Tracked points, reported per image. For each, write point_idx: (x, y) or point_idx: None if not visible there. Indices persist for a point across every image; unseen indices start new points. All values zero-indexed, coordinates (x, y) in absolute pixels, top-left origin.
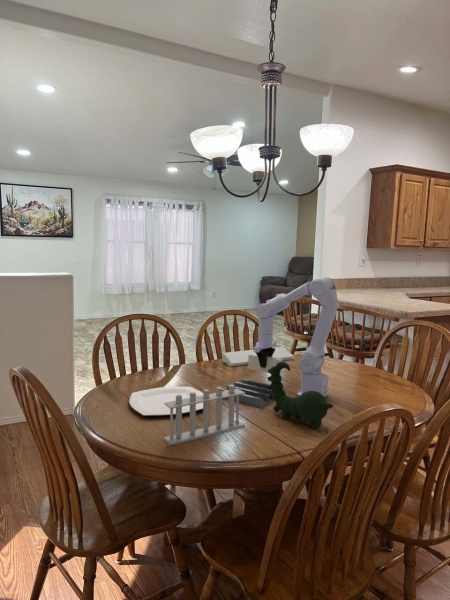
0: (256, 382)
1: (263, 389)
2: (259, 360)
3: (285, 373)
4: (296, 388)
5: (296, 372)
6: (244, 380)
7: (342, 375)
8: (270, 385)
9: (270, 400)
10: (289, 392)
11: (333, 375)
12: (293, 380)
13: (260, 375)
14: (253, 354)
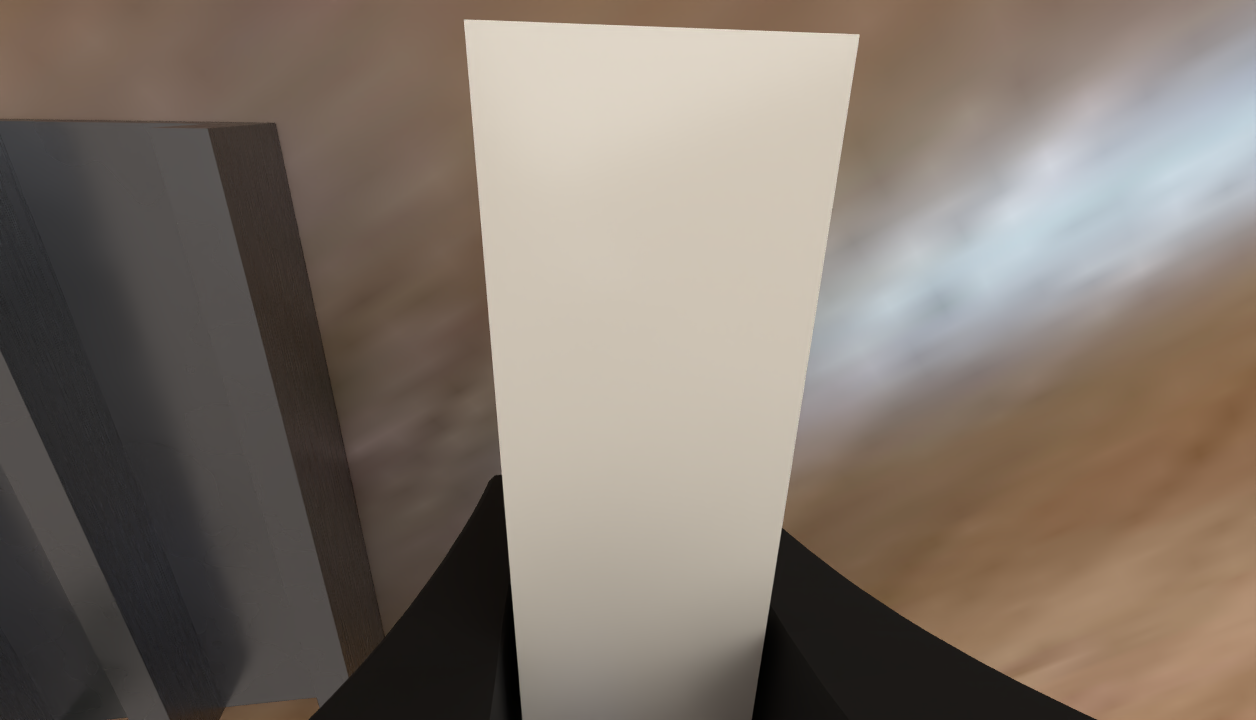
0: (247, 452)
1: (103, 651)
2: (431, 602)
3: (1152, 324)
4: None
5: (1223, 402)
6: (182, 211)
7: (1209, 706)
8: (309, 637)
9: (77, 717)
10: None
11: (1194, 669)
12: (911, 515)
13: (945, 74)
14: (678, 269)
